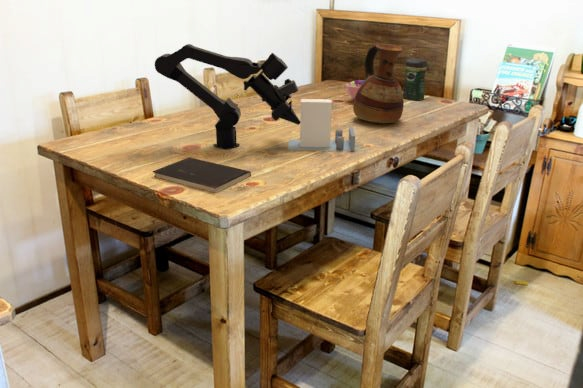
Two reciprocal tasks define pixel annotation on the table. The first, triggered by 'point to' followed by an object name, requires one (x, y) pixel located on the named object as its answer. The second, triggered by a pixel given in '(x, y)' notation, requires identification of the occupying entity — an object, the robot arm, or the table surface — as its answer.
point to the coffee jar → (414, 79)
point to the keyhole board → (335, 145)
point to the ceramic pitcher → (380, 88)
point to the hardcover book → (202, 174)
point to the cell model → (353, 87)
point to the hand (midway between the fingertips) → (299, 123)
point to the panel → (315, 122)
